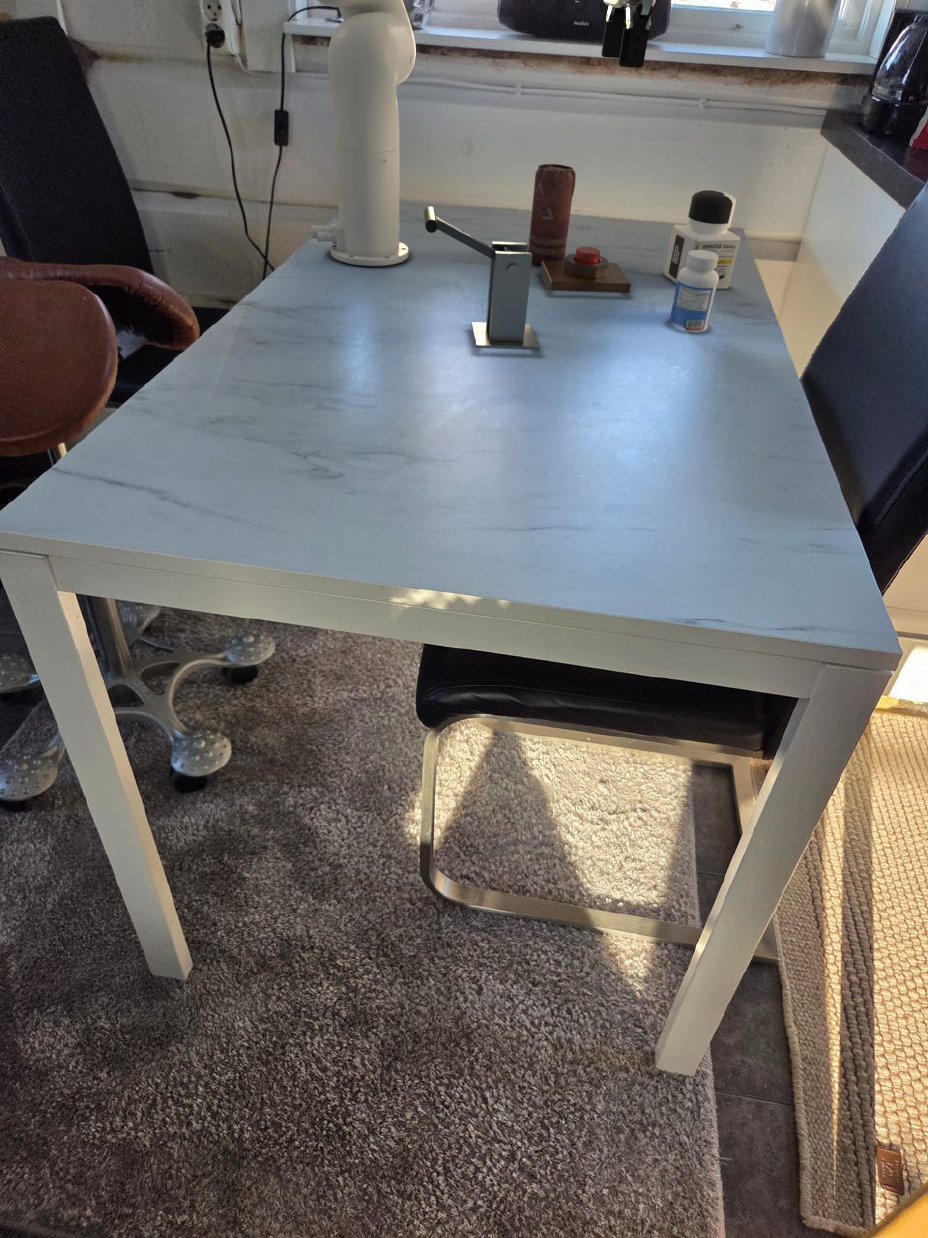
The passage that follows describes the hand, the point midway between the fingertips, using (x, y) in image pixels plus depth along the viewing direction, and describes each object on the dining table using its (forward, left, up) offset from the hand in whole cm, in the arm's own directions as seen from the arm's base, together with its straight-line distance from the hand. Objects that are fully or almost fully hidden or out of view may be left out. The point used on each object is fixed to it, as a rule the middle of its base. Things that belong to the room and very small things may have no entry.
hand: (621, 61), depth 111 cm
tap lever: (-21, -26, -18) cm, 38 cm away
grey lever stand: (-16, -26, -29) cm, 42 cm away
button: (-1, -2, -25) cm, 25 cm away
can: (-5, +10, -29) cm, 31 cm away
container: (+18, +2, -29) cm, 34 cm away
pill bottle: (+11, -18, -29) cm, 36 cm away
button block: (-1, -2, -29) cm, 29 cm away
